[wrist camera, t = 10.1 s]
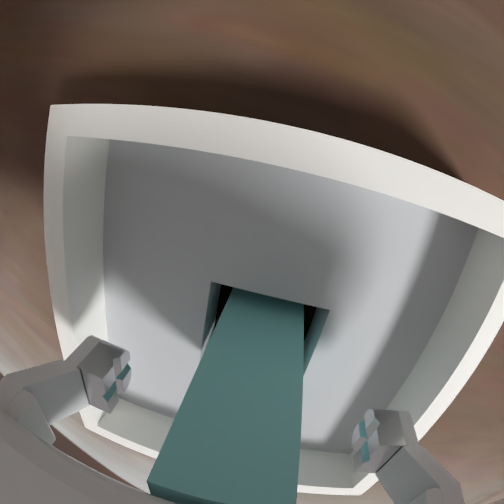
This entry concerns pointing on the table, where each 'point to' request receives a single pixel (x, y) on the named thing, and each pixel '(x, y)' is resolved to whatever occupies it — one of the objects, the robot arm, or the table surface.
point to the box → (267, 266)
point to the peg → (240, 411)
